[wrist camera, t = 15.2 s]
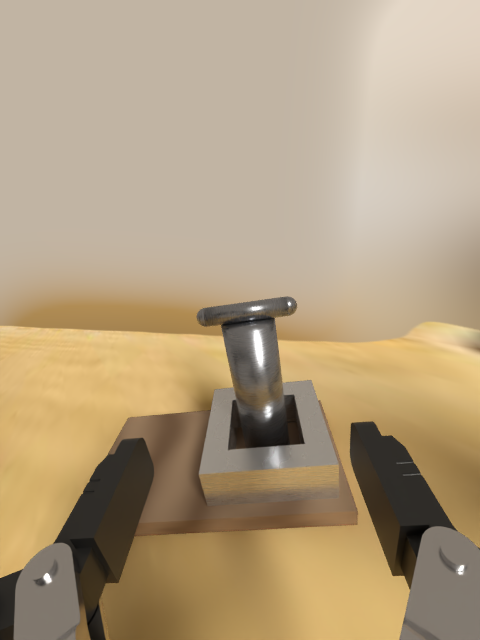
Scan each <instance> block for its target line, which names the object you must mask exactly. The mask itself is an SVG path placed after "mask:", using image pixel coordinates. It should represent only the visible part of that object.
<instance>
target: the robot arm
mask: <svg viewBox="0 0 480 640" xmlns="http://www.w3.org/2000/svg"><path fill="white" fill-rule="evenodd" d="M350 458H351V463H352V467H353V470H354V473H355V476H356V479H357V481H358V484H359V487H360V489H361V492H362V495H363V497H364V500H365V503H366V505H367V508H368V511H369V514H370V516H371V519H372V522H373V524H374V527H375V530H376V532H377V535H378V538H379V540H380V543H381V546H382V548H383V551H384V554H385V557H386V559H387V562H388V565H389V567H390V570H391V573H392V575H393V576H405V579H406V581H407V584H408V586H409V589H410V594H409V599H408V603H407V608H406V613H405V617H404V621H403V626H402V630H401V635H400V640H480V548H478V547H477V546H476V545H475V544H474V543H473V542H472V541H470V540H469V539H468V538H467V537H465V536H464V535H463V534H461V533H459V532H458V531H457V530H456V529H455V528H454V526H453V525H452V523H451V522H450V520H449V519H448V517H447V515H446V514H445V512H444V511H443V509H442V507H441V506H440V504H439V502H438V501H437V499H436V497H435V496H434V494H433V492H432V491H431V489H430V488H429V486H428V484H427V483H426V481H425V479H424V478H423V476H421V474H420V471H419V469H418V468H417V466H416V465H415V464H414V462H413V460H412V458H411V456H410V455H409V453H408V451H407V450H406V448H405V447H404V446H403V445H402V444H401V443H400V442H398V441H397V440H396V439H395V438H394V437H393V436H381V434H380V432H379V430H378V428H377V426H376V425H375V423H374V422H373V421H371V422H357V423H351V434H350ZM153 477H154V465H153V462H152V459H151V456H150V453H149V451H148V448H147V445H146V442H145V440H144V438H130V439H123V440H122V441H121V442H120V443H119V445H118V447H117V449H116V451H115V453H114V454H109V455H108V456H107V457H106V458H105V459H104V460H103V461H102V462H101V463H100V464H99V465H98V466H97V468H96V469H95V471H94V473H93V475H92V476H91V478H90V482H89V483H88V484H87V485H86V487H85V489H84V491H83V494H81V496H80V498H79V500H78V501H77V503H76V505H75V507H74V509H73V510H72V512H71V514H70V516H69V518H68V519H67V521H66V523H65V525H64V526H63V528H62V530H61V532H60V534H59V535H58V537H57V539H56V540H55V542H54V543H53V544H52V545H50V546H48V547H46V548H44V549H43V550H41V551H40V552H38V553H37V554H36V555H35V556H34V557H33V558H32V559H31V560H30V561H29V562H28V563H27V565H26V566H25V567H24V569H22V570H20V571H17V572H15V573H12V574H10V575H7V576H5V577H2V578H0V640H110V638H109V633H108V628H107V623H106V618H105V613H104V608H103V602H102V599H101V594H102V591H103V589H104V586H105V583H118V582H119V579H120V576H121V573H122V571H123V568H124V565H125V562H126V559H127V556H128V553H129V550H130V547H131V544H132V541H133V538H134V535H135V532H136V529H137V526H138V523H139V520H140V517H141V514H142V511H143V508H144V506H145V503H146V500H147V497H148V494H149V491H150V488H151V485H152V482H153Z"/></svg>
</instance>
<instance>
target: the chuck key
mask: <svg viewBox="0 0 480 640" xmlns="http://www.w3.org/2000/svg"><path fill="white" fill-rule="evenodd" d="M296 309H297V303H296V301H295V300H294V299H293V298H291V297H280V298H273V299H265V300H258V301H251V302H244V303H237V304H230V305H223V306H216V307H209V308H203V309H201V310H200V311H199V312H198V314H197V321H198V323H199V324H200V325H202V326H204V327H208V326H216V325H221V328H222V332H223V337H224V342H225V347H226V352H227V357H228V362H229V367H230V372H231V377H232V382H233V387H234V392H235V396H236V401H237V406H238V411H239V416H240V421H241V426H242V431H243V436H244V441H245V446H246V448H259V447H272V446H285V445H290V440H289V432H288V424H287V416H286V407H285V399H284V391H283V383H282V375H281V366H280V358H279V350H278V342H277V334H276V325H275V318H276V317H283V316H290V315H292V314H293V313H295V311H296Z"/></svg>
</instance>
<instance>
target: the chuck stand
mask: <svg viewBox="0 0 480 640" xmlns="http://www.w3.org/2000/svg"><path fill="white" fill-rule="evenodd" d="M283 391H284V399H285V407H286V416H287V424H288V432H289V440H290V445H285V446H272V447H259V448H246V446H245V441H244V436H243V431H242V426H241V421H240V416H239V411H238V406H237V401H236V396H235V392H234V388H224V389H215V391H214V396H213V401H212V407H211V410H208V411H197V412H186V413H175V414H164V415H153V416H141V417H130V418H128V419H127V421H126V423H125V425H124V426H123V428H122V430H121V432H120V433H119V435H118V437H117V439H116V441H115V442H114V444H113V446H112V448H111V450H110V451H109V453H108V455H109V454H114V453H115V451H116V449H117V447H118V445H119V443H120V442H121V441H122V440H123V439H130V438H144V440H145V442H146V445H147V448H148V451H149V453H150V456H151V459H152V462H153V465H154V477H153V482H152V485H151V488H150V491H149V494H148V497H147V500H146V503H145V506H144V508H143V511H142V514H141V517H140V520H139V523H138V526H137V529H136V532H135V535H134V536H142V535H161V534H181V533H200V532H220V531H239V530H258V529H278V528H297V527H317V526H336V525H356V524H357V515H358V511H357V508H356V505H355V502H354V499H353V496H352V493H351V490H350V487H349V484H348V481H347V478H346V475H345V472H344V469H343V466H342V463H341V460H340V458H339V455H338V452H337V449H336V446H335V443H334V440H333V437H332V434H331V431H330V428H329V425H328V422H327V419H326V416H325V413H324V410H323V407H322V404H321V401H320V400H319V401H318V399H317V396H316V393H315V390H314V387H313V384H312V381H311V380H307V381H297V382H286V383H283ZM108 455H107V456H108Z"/></svg>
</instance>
